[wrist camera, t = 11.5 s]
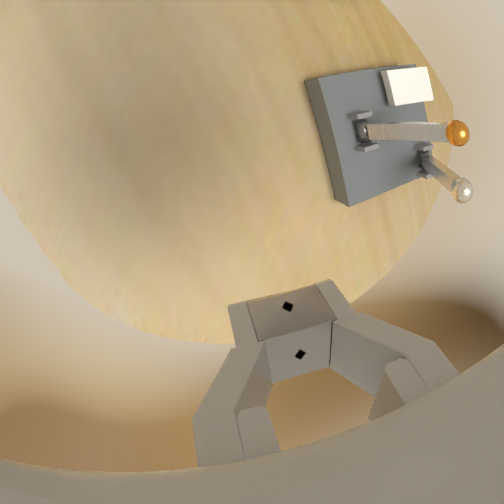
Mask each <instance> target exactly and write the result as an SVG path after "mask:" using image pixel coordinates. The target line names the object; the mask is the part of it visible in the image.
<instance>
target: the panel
mask: <svg viewBox="0 0 504 504" xmlns="http://www.w3.org/2000/svg"><path fill="white" fill-rule="evenodd" d="M404 68H416V65H415V64H412V65H401V66H391V67H382V68H374V69H367V70H360V71H354V72H348V73H342V74H336V75H331V76H326V77H321V78H316V79H312V80H307V81H304V82H305V85H306V89H307V92H308V95H309V99H310V102H311V105H312V109H313V112H314V116H315V119H316V123H317V127H318V130H319V134H320V138H321V142H322V145H323V149H324V153H325V157H326V161H327V166H328V170H329V174H330V178H331V183H332V187H333V192H334V196H335V200H337V201H339V202H341V203H343V204H345V205H346V206H348V207H351V206H353V205H356V204H358V203H360V202H363V201H365V200H367V199H370V198H372V197H374V196H377V195H379V194H382V193H384V192H386V191H389V190H391V189H393V188H396V187H398V186H401V185H403V184H405V183H408V182H410V181H412V180H415V179H417V178H420V177H423V178H426V179H427V178H430V177H432V175H431V174H430V173H429V172H427V171H423V170H421V162H420V154H419V151H426V150H429V155H431V156H432V151H431V149H432V148H433V144H431V143H430V141H416V140H372V142H369V143H360V140H359V135H358V131H357V126H356V122H355V121H356V120H359V119H367V121H368V123H371V122H427V116H426V111H425V105H424V102H417V103H410V104H404V105H398V106H392V105H389V103H388V99H387V94H386V90H385V86H384V82H383V78H382V75H381V71H386V70H395V69H404Z"/></svg>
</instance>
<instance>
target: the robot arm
mask: <svg viewBox="0 0 504 504" xmlns="http://www.w3.org/2000/svg"><path fill="white" fill-rule="evenodd" d="M228 312H229V316H230V321H231V326H232V330H233V334H234V339H235V343H236V348H232V349H231V350H230V352H229V353H228V355H227V357H226V359H225V361H224V363H223V364H222V366H221V368H220V370H219V372H218V373H217V375H216V377H215V379H214V381H213V382H212V384H211V386H210V388H209V390H208V391H207V393H206V395H205V397H204V398H203V400H202V402H201V404H200V406H199V407H198V409H197V411H196V413H195V414H194V416H193V418H192V419H193V428H194V438H195V447H196V455H197V463H198V467H197V468H189V469H179V470H170V471H169V470H168V471H153V472H90V471H77V470H65V469H56V468H49V467H42V466H35V465H30V464H24V463H19V462H14V461H9V460H5V459H1V458H0V504H504V344H503V345H502V346H500V347H499V348H498V349H497V350H495V351H494V352H492V353H491V354H489V355H488V356H487V357H485V358H484V359H482V360H481V361H479V362H478V363H476V364H475V365H473V366H472V367H471V368H469V369H468V370H466V371H464V372H463V373H461V374H459V373H458V372H457V370H456V369H455V368H454V366H453V365H452V364H451V363H450V361H449V360H448V359H447V358H446V356H445V355H444V354H443V353H442V351H441V350H440V349H439V347H438V346H437V345H436V344H435V343H434V342H433V341H431V340H428V339H426V338H424V337H421V336H418V335H416V334H414V333H411V332H409V331H406V330H404V329H401V328H399V327H396V326H394V325H391V324H388V323H386V322H384V321H381V320H379V319H376V318H374V317H372V316H369V315H367V314H364V313H362V312H360V313H357V314H356V312H355V311H354V309H353V308H352V307H351V305H350V304H349V303H348V301H347V300H346V298H345V297H344V296H343V294H342V293H341V292H340V290H339V289H338V287H337V286H336V285H335V283H334V282H333V281H332V280H330V279H328V280H325V281H322V282H318V283H315V284H313V285H309V286H306V287H302V288H298V289H294V290H291V291H287V292H283V293H278V294H274V295H270V296H265V297H261V298H256V299H252V300H247V301H246V302H245V301H244V302H239V303H234V304H230V305H228ZM329 366H330V368H331V369H333V370H334V371H336V372H337V373H339V374H340V375H342V376H343V377H345V378H346V379H348V380H349V381H351V382H352V383H354V384H355V385H357V386H359V387H360V388H362V389H363V390H365V391H366V392H368V393H369V394H371V395H373V396H374V397H375V400H374V403H373V406H372V408H371V411H370V414H369V416H368V418H369V420H370V421H369V422H366V423H364V424H361V425H359V426H356V427H354V428H351V429H349V430H346V431H343V432H341V433H338V434H335V435H333V436H330V437H327V438H324V439H321V440H317V441H315V442H312V443H308V444H305V445H301V446H298V447H295V448H291V449H288V450H284V451H280V448H279V444H278V441H277V438H276V435H275V431H274V428H273V425H272V422H271V419H270V415H269V412H268V410H267V409H266V408H265V407H266V403H267V401H268V397H269V395H270V391H271V388H272V385H273V384H272V383H275V382H278V381H281V380H285V379H288V378H292V377H295V376H298V375H301V374H305V373H308V372H312V371H315V370H319V369H322V368H325V367H329Z"/></svg>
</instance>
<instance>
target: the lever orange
mask: <svg viewBox="0 0 504 504" xmlns="http://www.w3.org/2000/svg"><path fill="white" fill-rule="evenodd" d="M355 122H356V126H357V131H358V135H359V140H360V143H369V142H372V140H416V141H435V142H449V143H451V144H453V145H455V146H463V145H465V144H466V143H467V142H468V140H469V130H468V128H467V126H466V125H465V124H464V123H463V122H461V121H459V120H452V121H450V122H449V123H442V122H371V123H368V121H367V119H359V120H356V121H355Z"/></svg>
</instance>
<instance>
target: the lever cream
mask: <svg viewBox="0 0 504 504" xmlns="http://www.w3.org/2000/svg"><path fill="white" fill-rule="evenodd" d="M419 154H420V162H421V170H423V171H427V172H429V173H430V174H431V175H432V176H433V177H434V178H435V179H437V180H438V181H439V182H440V183H441V184H442V185H443V186H444V187H445V188H446V189H448V190H449V191H450V192H451V194H452V196H453V198H454V199H455V200H456V201H458V202H460V203H465V202H468V201H469V200H470V199H471V198H472V195H473V187H472V185H471V183H470V182H469V181H468V180H467V179H465V178H461V177H460V176H458V175H457V174H456V173H454V172H453V171H452V170H450V169H449V168H448V167H446V166H445V165H444V164H442V163H441V162H440V161H438V160H437V159H435V158H434V157H433V156H431V155H429V150H426V151H419Z"/></svg>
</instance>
